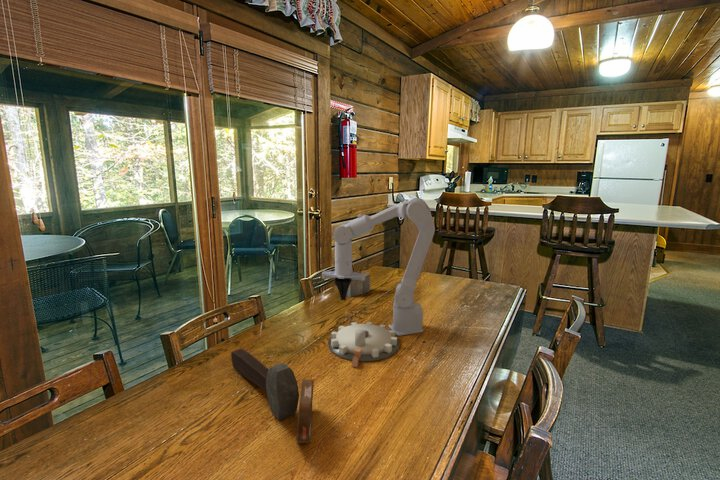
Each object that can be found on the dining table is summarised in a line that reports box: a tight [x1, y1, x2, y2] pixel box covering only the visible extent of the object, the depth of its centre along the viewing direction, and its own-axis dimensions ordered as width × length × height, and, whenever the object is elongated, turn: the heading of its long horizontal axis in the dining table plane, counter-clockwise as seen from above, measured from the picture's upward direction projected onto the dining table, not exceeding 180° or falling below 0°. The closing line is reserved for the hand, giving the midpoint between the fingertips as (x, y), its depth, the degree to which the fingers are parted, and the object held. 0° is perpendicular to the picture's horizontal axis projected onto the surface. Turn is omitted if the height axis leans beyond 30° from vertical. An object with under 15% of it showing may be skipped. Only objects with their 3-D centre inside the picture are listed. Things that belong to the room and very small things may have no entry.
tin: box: [296, 378, 315, 444], centre depth 78 cm, size 15×3×8 cm, turn 5°
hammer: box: [230, 348, 300, 421], centre depth 91 cm, size 5×11×30 cm
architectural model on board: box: [346, 269, 371, 298], centre depth 159 cm, size 11×3×10 cm, turn 132°
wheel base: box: [327, 335, 400, 368], centre depth 114 cm, size 22×24×2 cm
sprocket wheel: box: [330, 321, 398, 358], centre depth 114 cm, size 20×20×6 cm
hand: (343, 299), depth 126 cm, fingers closed
